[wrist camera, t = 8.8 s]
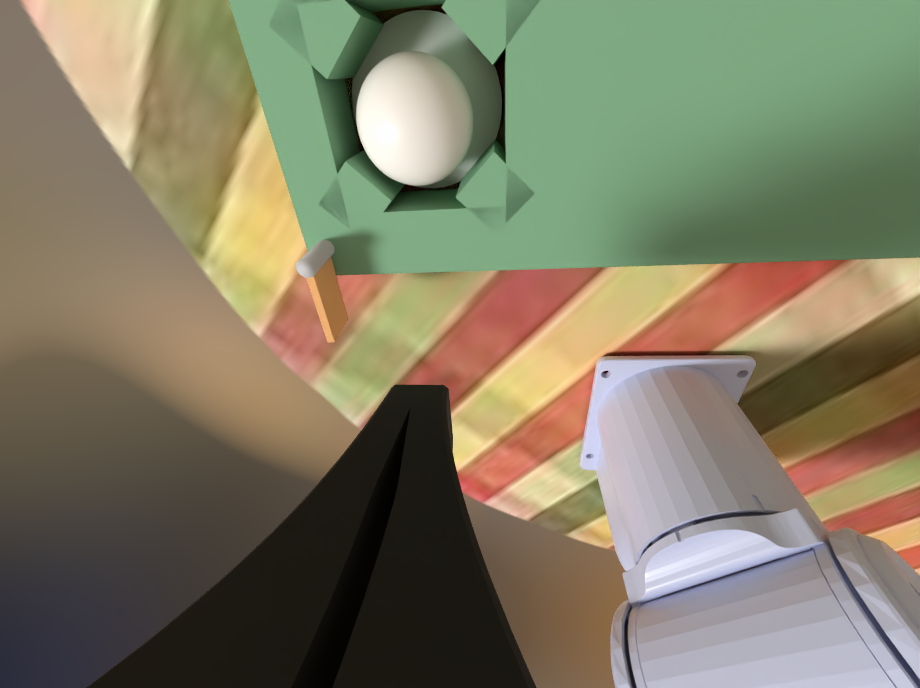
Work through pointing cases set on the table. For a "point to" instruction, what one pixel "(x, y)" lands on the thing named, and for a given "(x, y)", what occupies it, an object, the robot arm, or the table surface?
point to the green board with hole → (603, 133)
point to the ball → (414, 118)
